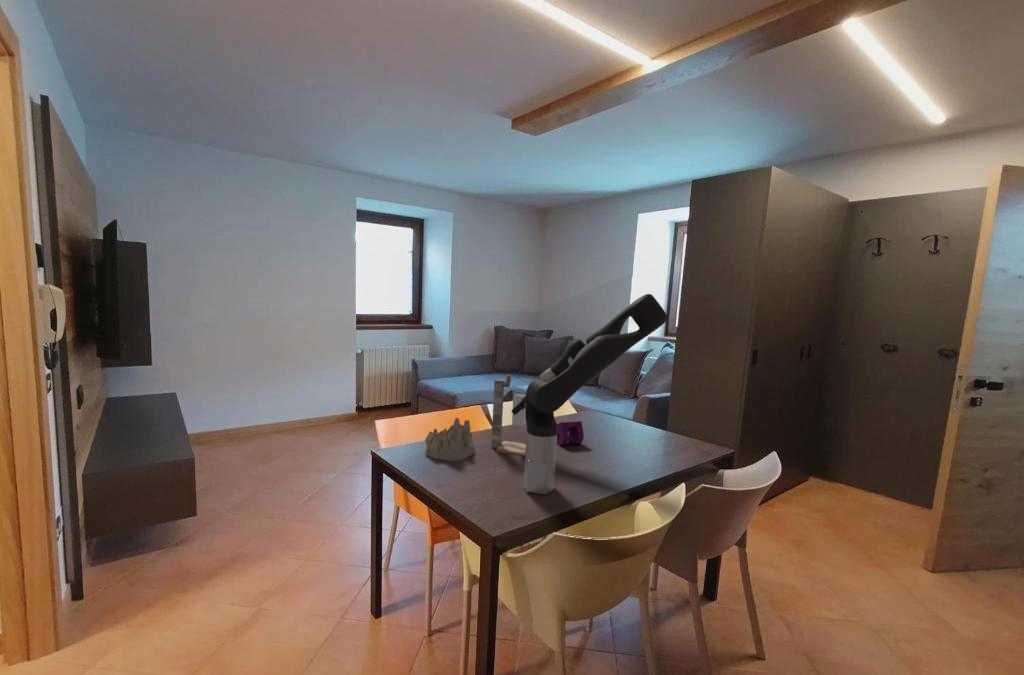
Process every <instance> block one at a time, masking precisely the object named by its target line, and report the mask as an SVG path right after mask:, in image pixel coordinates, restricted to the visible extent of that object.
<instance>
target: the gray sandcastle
mask: <svg viewBox="0 0 1024 675" xmlns="http://www.w3.org/2000/svg"><path fill="white" fill-rule="evenodd" d="M473 436H474V435H472V432H471V425H470V420H469V419H465V420H464V423H463V424H461V423H460V418H459V417H455V418H454V421H453V424H451V425H450V426H449V428H448V430H447V427H446V428H443V429H442V430H440V431H439V432H438V429H437V428H433V431H429V432H428V434H427V436H426V438H425V440H424V442H425V444H426V445H425V446H426V449H425V451H424V454H425V455H427V456H429V457H431V458H433V459H438V460H441V461H450V462H455V461H461V460H465V459H467V458H468V457H470V456H472V455H474V454H476V447H475V445H474V442H473Z"/></svg>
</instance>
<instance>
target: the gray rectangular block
mask: <svg viewBox="0 0 1024 675" xmlns="http://www.w3.org/2000/svg"><path fill="white" fill-rule="evenodd" d="M525 396H526V393H525V394H524V393H523V394H522V393H514V394H513V396H512V409H514V408H515V407H516V406H517V405H518V403H520V402H521V401H522V399H523V398H524V397H525ZM522 404H523V405H524V406H525V403H524V402H523V403H522ZM511 413H512V412H511ZM525 425H526V420H525V408H524V409H522V410H520V411H519V412H518V413H517V414H516V415H514V414H513V413H512V418H511V426H521V427H525Z"/></svg>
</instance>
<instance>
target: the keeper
mask: <svg viewBox="0 0 1024 675" xmlns="http://www.w3.org/2000/svg"><path fill="white" fill-rule="evenodd" d="M511 382H512V375H511V374H507V375H506V380H505V379H498V378H497V379H495V380H494V382H493V383H494V384H493V401H492V403H493V404H492V421H491V422H492V425H491V427H492V428H491V444H490V446H491V448H494V449H495V452H497V453H503V454H511V455H517V456H523V457H525V453H526V443H523V442H515V441H507V440H503V441H502V432H503V431H502V430H503V429H502V428H503V414H504V413H503V410H504V391H505V390H504V389H505V388H509V387H510V386H511Z"/></svg>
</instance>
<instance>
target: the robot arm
mask: <svg viewBox="0 0 1024 675" xmlns="http://www.w3.org/2000/svg"><path fill="white" fill-rule="evenodd" d="M630 317H631V318H632V320H633V322H635V324H636V325H637V327H638V329H637V330H635V331H631V332H627V333H626V332H625V333H621V332H622V329H623V327H624V325H625V323H626V321H627V320H628V319H629V318H630ZM668 318H669V316H668V314H667V313H666V311H665V309H664V308H663V307H662V305H661V304H660V303H659V302H658V300H657V299H656V298H655V297H654V295H652V294H651V293H647V294H646V293H645V294H644V295H641V296H640V297H638V298H637V299H635V300H634V301H633V302H631V303H629V305H628V306H626V307H625V308H624V309H623V310H621V311H620V312H619V313H618V314H617V315H615V316H614V317H613V318H612V319H611V320H610V321H609V322H607V323H606V324H605V325H604V326H603V327H601V328H599V329H598V330H597V331H595V332H593V333H592V334H590V335H589V336H588V337H586V339H585V342H584V341H583V340H581V339H579V338H577V339H573V340H571V341H570V343H569V344H567V345H568V346H567V347H566V349H565V351H563V353H562V354H561V356H560V357H559V358H558V359H557V361H555V362H554V363H553V364H552V365H551V366H549V367H548V368H547V369H546V370H544V371H543V372H542V373H541V374H540V375H538V376H537V377H536V378H535V379H533V380H532V381H531V382H529V384H528V387H527V388H526V392H525V395H526V396H525V397H524V398H523V399H522V401H521V402H520V403H518V405H517V406H516V407H515V408H514V409H513V408H512V409H511V413H513V414H514V415H516V414H517V413H518V412H519V411H520V410H522V409H524V408H525V420H526V423H525V425H526V434H525V435H526V438H525V439H526V441H525V444H526V453H525V455H524V457H525V458H524V473H523V474H524V476H523V477H524V478H523V479H524V480H523V488H524V490H525V492H526V493H532V494H533V493H534V494H540V495H548V494H549V493H551V492H553V491H554V489H555V476H556V474H555V473H556V458H557V424H558V423H557V421H556V418H555V414H554V412H556V411H557V410H559V409H560V408H561V407H563V406H564V405H565V403H566V402H567V401H569V399H571V398H572V397H573V395H574V394H576V393H577V392H578V391H579V390H580V389H581V388H583V386H584V385H587V383H589V382H590V381H591V380H593V379H594V378H595V377H596V376H597V375H599V374H600V373H602V372H603V371H604V370H605V369H607V368H608V367H610V366H611V365H612V364H613V363H614V362H616V361H617V360H618V359H619V358H620V357H621V356H623V355H624V354H625V353H626V352H627V351H629V350H630V349H631V348H632V347H634V346H635V345H636V344H638V343H639V342H641V341H642V340H643V339H645V338H646V337H648V336H649V335H651V334H652V333H653V332H655V331H656V330H658V329H659V328H661V327H662V326H663V325H664V324H666V322H667V320H668ZM585 343H586V344H585ZM570 358H571V359H572V361H571V363H570V362H569V360H570ZM523 402H524V403H525V406H524V405H523V404H522V403H523Z"/></svg>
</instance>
